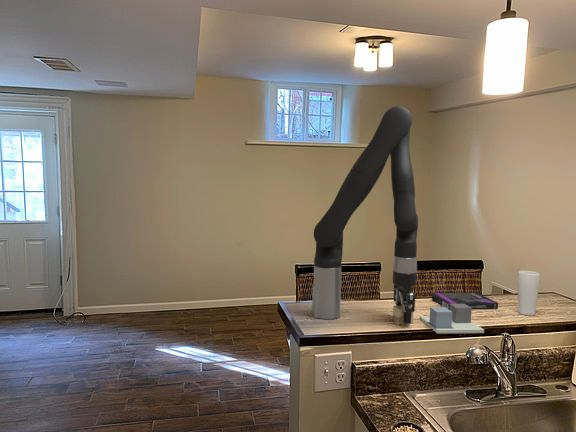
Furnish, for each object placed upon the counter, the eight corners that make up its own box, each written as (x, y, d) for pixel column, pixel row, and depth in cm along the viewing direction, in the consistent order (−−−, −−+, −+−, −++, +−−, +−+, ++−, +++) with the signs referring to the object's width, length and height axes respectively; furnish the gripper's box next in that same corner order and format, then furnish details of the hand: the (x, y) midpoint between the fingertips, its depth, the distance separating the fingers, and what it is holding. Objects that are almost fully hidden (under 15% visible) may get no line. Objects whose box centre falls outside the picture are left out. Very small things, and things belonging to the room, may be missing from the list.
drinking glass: (536, 312, 160) (539, 271, 159) (538, 317, 154) (540, 275, 153) (515, 310, 163) (517, 269, 162) (516, 315, 157) (518, 273, 156)
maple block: (397, 325, 144) (398, 310, 144) (392, 320, 149) (393, 305, 149) (412, 325, 145) (413, 309, 144) (407, 320, 149) (408, 305, 149)
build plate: (437, 333, 136) (437, 314, 136) (419, 319, 150) (420, 301, 150) (484, 332, 138) (485, 313, 137) (462, 318, 152) (463, 301, 151)
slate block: (436, 327, 138) (436, 312, 138) (429, 322, 143) (430, 307, 143) (451, 327, 139) (452, 311, 138) (444, 322, 144) (445, 307, 143)
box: (447, 312, 162) (498, 310, 164) (448, 303, 162) (498, 301, 164) (431, 301, 176) (478, 300, 178) (431, 292, 175) (478, 291, 178)
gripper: (386, 265, 152) (385, 313, 154) (400, 274, 138) (399, 327, 139) (408, 265, 153) (406, 313, 154) (424, 274, 139) (422, 326, 140)
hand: (403, 319), depth 147 cm, fingers open, 7 cm apart
